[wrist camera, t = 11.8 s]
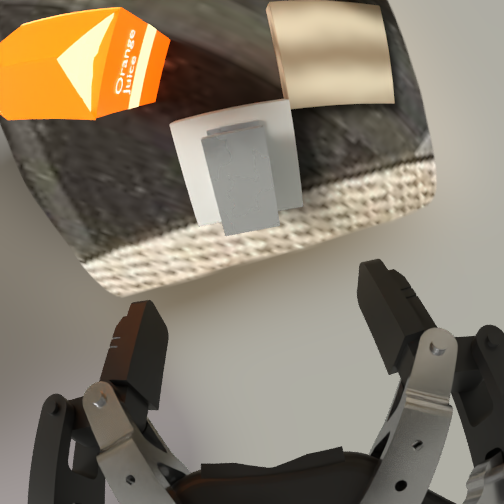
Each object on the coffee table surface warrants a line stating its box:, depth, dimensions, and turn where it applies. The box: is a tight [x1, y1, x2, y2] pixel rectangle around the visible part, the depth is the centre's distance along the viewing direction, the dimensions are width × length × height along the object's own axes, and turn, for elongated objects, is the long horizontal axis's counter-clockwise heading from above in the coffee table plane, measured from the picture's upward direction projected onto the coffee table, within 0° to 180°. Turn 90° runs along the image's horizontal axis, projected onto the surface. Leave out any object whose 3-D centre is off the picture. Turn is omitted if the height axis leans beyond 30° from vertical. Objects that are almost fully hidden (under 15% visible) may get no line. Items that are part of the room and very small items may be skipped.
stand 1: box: [169, 99, 303, 226], centre depth 29 cm, size 12×12×3 cm
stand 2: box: [266, 0, 395, 109], centre depth 22 cm, size 12×12×3 cm
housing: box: [201, 119, 280, 236], centre depth 25 cm, size 9×5×6 cm, turn 10°
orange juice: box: [0, 7, 170, 120], centre depth 14 cm, size 8×9×20 cm
